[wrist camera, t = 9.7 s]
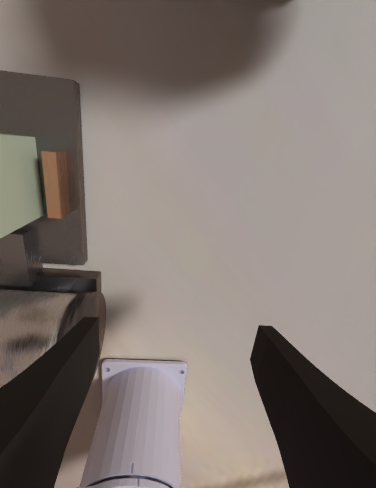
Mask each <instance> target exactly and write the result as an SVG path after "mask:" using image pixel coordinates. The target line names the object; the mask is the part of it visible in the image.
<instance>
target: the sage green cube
mask: <svg viewBox="0 0 376 488" xmlns="http://www.w3.org/2000/svg"><path fill="white" fill-rule="evenodd" d="M43 215H44V212H43V203H42V194H41V185H40V176H39V168H38V159H37V150H36V141H35V137H29V136H20V135H11V134H1V133H0V238H2V237H4V236H6V235H8V234H10V233H12V232H13V231H15V230H17V229H19V228H21V227H23V226H25V225H26V224H28V223H30V222H32V221H34V220H36V219H38V218H40V217H41V216H43Z"/></svg>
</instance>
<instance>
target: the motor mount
mask: <svg viewBox="0 0 376 488" xmlns="http://www.w3.org/2000/svg"><path fill="white" fill-rule="evenodd" d="M0 133H1V134H11V135H20V136H29V137H35V141H36V150H37V159H38V168H39V176H40V185H41V194H42V203H43V212H44V215H43V216H41V217H40V218H38V219H36V220H34V221H32V222H30V223H28V224H26V225H25V226H23V227H21V228H19V229H17V230H15V231H13V232H12V233H10V234H8V235H6V236H4V237H2V238H0V386H4V385H5V384H6V383H8V382H9V381H11V380H12V379H13V378H15V377H16V376H17V375H18V374H20V373H21V372H22V371H24V370H25V369H26V368H27V367H29V366H30V365H31V364H32V363H33V362H35V361H36V360H37V359H38V358H39V357H41V356H42V355H43V354H44V353H45V352H47V351H48V350H49V349H50V348H51V347H52V346H53V345H54V344H55V343H57V342H58V341H59V340H60V339H61V338H62V337H63V336H64V335H65V334H66V333H67V332H68V331H69V330H71V329H72V328H73V327H74V326H75V325H76V324H77V323H78V322H79V321H80V320H81V319H82V318H83V317H99V343H100V355H101V350H102V345H103V339H104V332H105V321H106V305H105V299H104V295H103V294H102V293H101V272H98V271H82V270H67V269H52V268H43V266H42V263H57V264H72V265H84V264H85V262H86V261H87V260H88V259H87V237H86V216H85V194H84V173H83V151H82V130H81V108H80V87H79V83H77V82H75V81H74V80H69V79H61V78H53V77H46V76H38V75H30V74H23V73H15V72H7V71H0ZM100 355H99V359H100ZM99 359H98V362H97V366H98V363H99ZM97 366H96V370H97ZM96 370H95V373H96ZM95 373H94V375H95ZM93 378H94V377H93Z"/></svg>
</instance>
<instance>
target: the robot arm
mask: <svg viewBox="0 0 376 488" xmlns="http://www.w3.org/2000/svg"><path fill="white" fill-rule="evenodd" d="M99 355H100V343H99V317H83V318H82V319H81V320H80V321H79V322H78V323H77V324H76V325H75V326H74V327H73V328H72V329H71V330H69V331H68V332H67V333H66V334H65V335H64V336H63V337H62V338H61V339H60V340H59V341H58V342H57V343H55V344H54V345H53V346H52V347H51V348H50V349H49V350H48V351H47V352H45V353H44V354H43V355H42V356H41V357H39V358H38V359H37V360H36V361H35V362H33V363H32V364H31V365H30V366H29V367H27V368H26V369H25V370H24V371H22V372H21V373H20V374H18V375H17V376H16V377H15V378H13V379H12V380H11V381H9V382H8V383H6V384H5V385H4V386H2V387H1V388H0V488H54V485H55V482H56V478H57V475H58V472H59V469H60V465H61V462H62V459H63V455H64V452H65V449H66V446H67V443H68V441H69V438H70V435H71V432H72V430H73V427H74V425H75V422H76V420H77V417H78V415H79V412H80V410H81V407H82V405H83V402H84V400H85V397H86V395H87V392H88V390H89V387H90V385H91V382H92V380H93V377H94V373H95V370H96V366H97V362H98V359H99ZM250 361H251V365H252V370H253V374H254V378H255V382H256V385H257V388H258V391H259V394H260V396H261V399H262V402H263V405H264V407H265V410H266V413H267V416H268V418H269V421H270V424H271V427H272V429H273V432H274V435H275V438H276V441H277V444H278V447H279V450H280V454H281V457H282V461H283V465H284V468H285V472H286V476H287V479H288V483H289V487H290V488H376V413H375V412H374V411H372V410H371V409H369V408H368V407H366V406H365V405H363V404H362V403H361V402H359V401H358V400H357V399H355V398H354V397H353V396H351V395H350V394H349V393H347V392H346V391H345V390H343V389H342V388H341V387H339V386H338V385H337V384H336V383H334V382H333V381H332V380H331V379H329V378H328V377H327V376H326V375H325V374H324V373H322V372H321V371H320V370H319V369H318V368H316V367H315V366H314V365H313V364H312V363H311V362H310V361H309V360H307V359H306V358H305V357H304V356H303V355H302V354H301V353H300V352H299V351H298V350H297V349H296V348H295V347H294V346H292V345H291V344H290V343H289V342H288V341H287V340H286V339H285V338H284V337H283V336H282V335H281V334H280V333H279V332H278V331H277V330H276V329H274V328H273V327H272V326H260V325H259V327H258V331H257V335H256V339H255V342H254V346H253V350H252V354H251V358H250ZM101 366H102V401H103V404H102V407H101V411H100V415H99V418H98V422H97V425H96V429H95V433H94V436H93V440H92V444H91V447H90V451H89V454H88V458H87V462H86V465H85V469H84V472H83V476H82V480H81V483H80V487H77V488H182V467H181V425H180V417H181V410H182V403H183V395H184V388H185V381H186V373H187V364H186V363H185V362H181V361H153V360H125V359H105V360H103V362H102V365H101ZM108 368H109V369H108ZM181 370H183V371H181Z"/></svg>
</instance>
